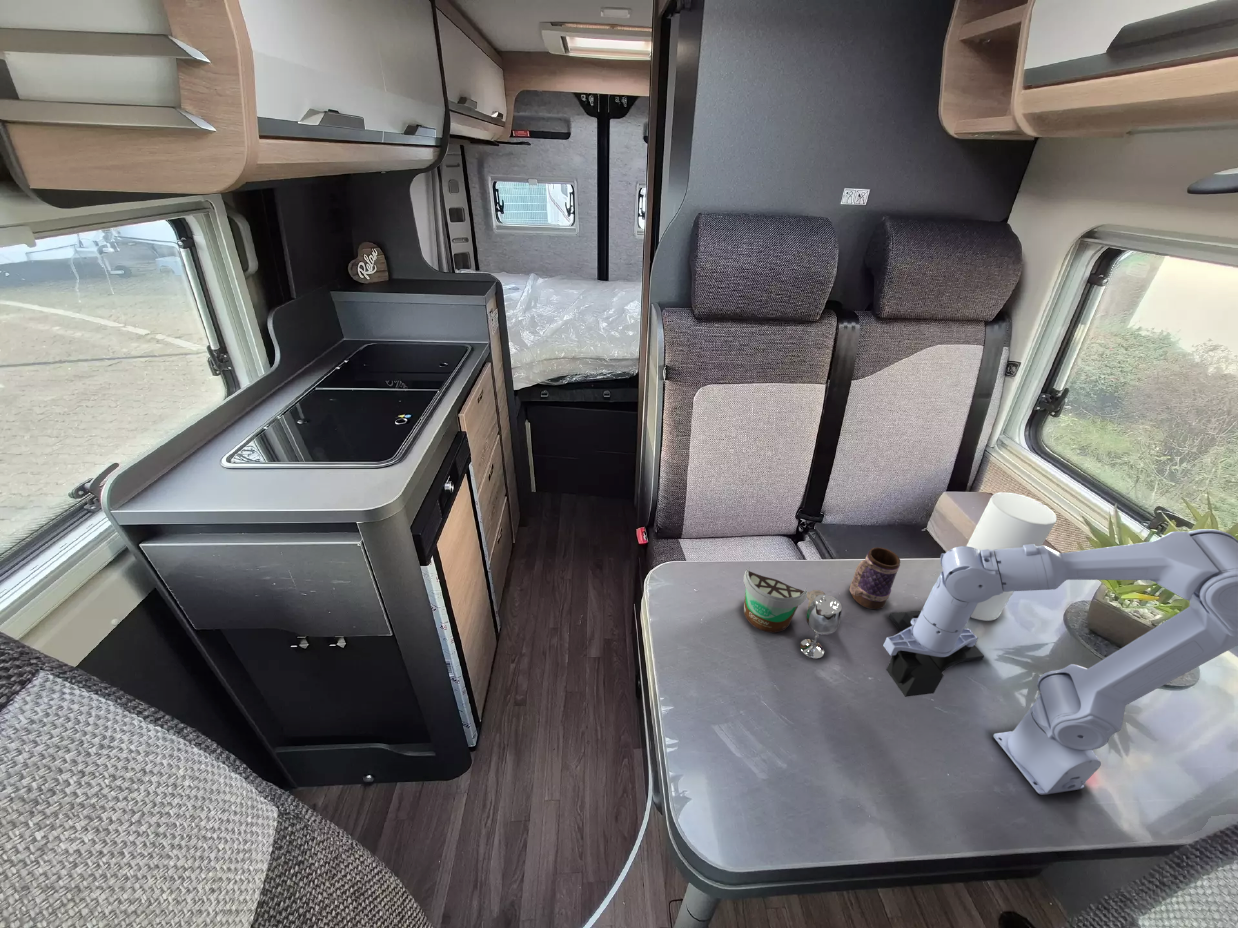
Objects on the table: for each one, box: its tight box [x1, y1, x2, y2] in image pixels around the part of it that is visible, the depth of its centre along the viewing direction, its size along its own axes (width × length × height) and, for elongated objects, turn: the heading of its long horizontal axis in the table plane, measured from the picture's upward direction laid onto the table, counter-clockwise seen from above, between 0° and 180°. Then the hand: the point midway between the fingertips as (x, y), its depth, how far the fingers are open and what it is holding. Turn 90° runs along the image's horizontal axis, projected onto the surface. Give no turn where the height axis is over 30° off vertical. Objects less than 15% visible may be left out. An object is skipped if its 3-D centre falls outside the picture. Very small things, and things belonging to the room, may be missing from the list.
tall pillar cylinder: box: [966, 491, 1058, 622], centre depth 107 cm, size 11×11×25 cm
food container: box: [743, 567, 808, 633], centre depth 102 cm, size 12×6×10 cm, turn 62°
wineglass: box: [799, 594, 843, 660], centre depth 97 cm, size 6×6×12 cm
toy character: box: [806, 589, 827, 609], centre depth 106 cm, size 4×8×6 cm, turn 13°
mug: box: [849, 546, 901, 610], centre depth 109 cm, size 10×7×12 cm
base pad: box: [888, 610, 985, 662], centre depth 103 cm, size 12×12×3 cm
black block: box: [885, 653, 945, 698], centre depth 85 cm, size 5×5×5 cm
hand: (912, 675), depth 86 cm, fingers closed on black block, 5 cm apart
